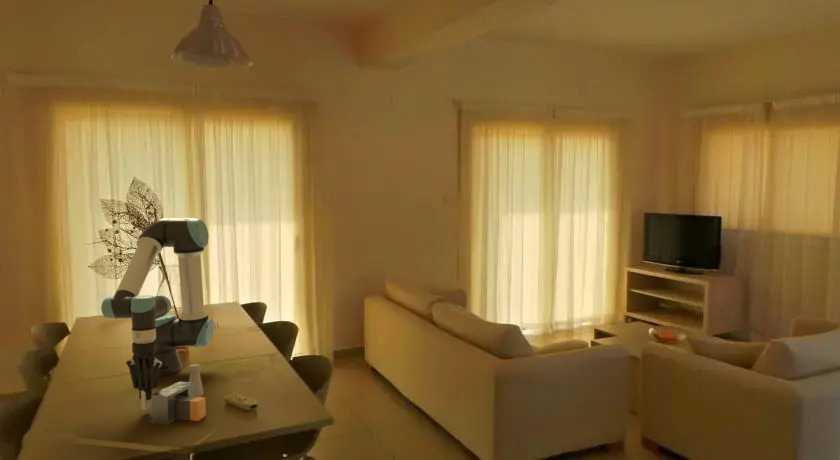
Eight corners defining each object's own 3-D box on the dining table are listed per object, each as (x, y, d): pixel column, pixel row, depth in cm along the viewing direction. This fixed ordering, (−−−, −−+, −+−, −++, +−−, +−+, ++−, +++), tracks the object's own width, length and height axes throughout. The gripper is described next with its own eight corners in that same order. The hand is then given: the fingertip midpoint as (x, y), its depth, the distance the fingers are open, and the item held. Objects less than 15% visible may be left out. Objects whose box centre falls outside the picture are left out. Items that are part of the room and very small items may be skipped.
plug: (153, 416, 204) (153, 398, 204) (162, 412, 209) (161, 393, 208) (198, 420, 201) (197, 401, 200) (205, 416, 205) (205, 397, 205)
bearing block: (152, 423, 198) (151, 394, 198) (179, 407, 213) (179, 381, 213) (168, 424, 197) (167, 396, 197) (194, 409, 212) (194, 382, 211)
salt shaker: (189, 396, 225) (188, 362, 224) (205, 396, 225) (204, 362, 225) (184, 402, 219) (184, 366, 218) (201, 401, 220) (200, 366, 219)
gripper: (119, 342, 204) (121, 410, 205) (154, 344, 201) (155, 413, 203) (134, 337, 211) (136, 403, 213) (167, 339, 209) (169, 406, 210)
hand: (146, 408), depth 208 cm, fingers closed
